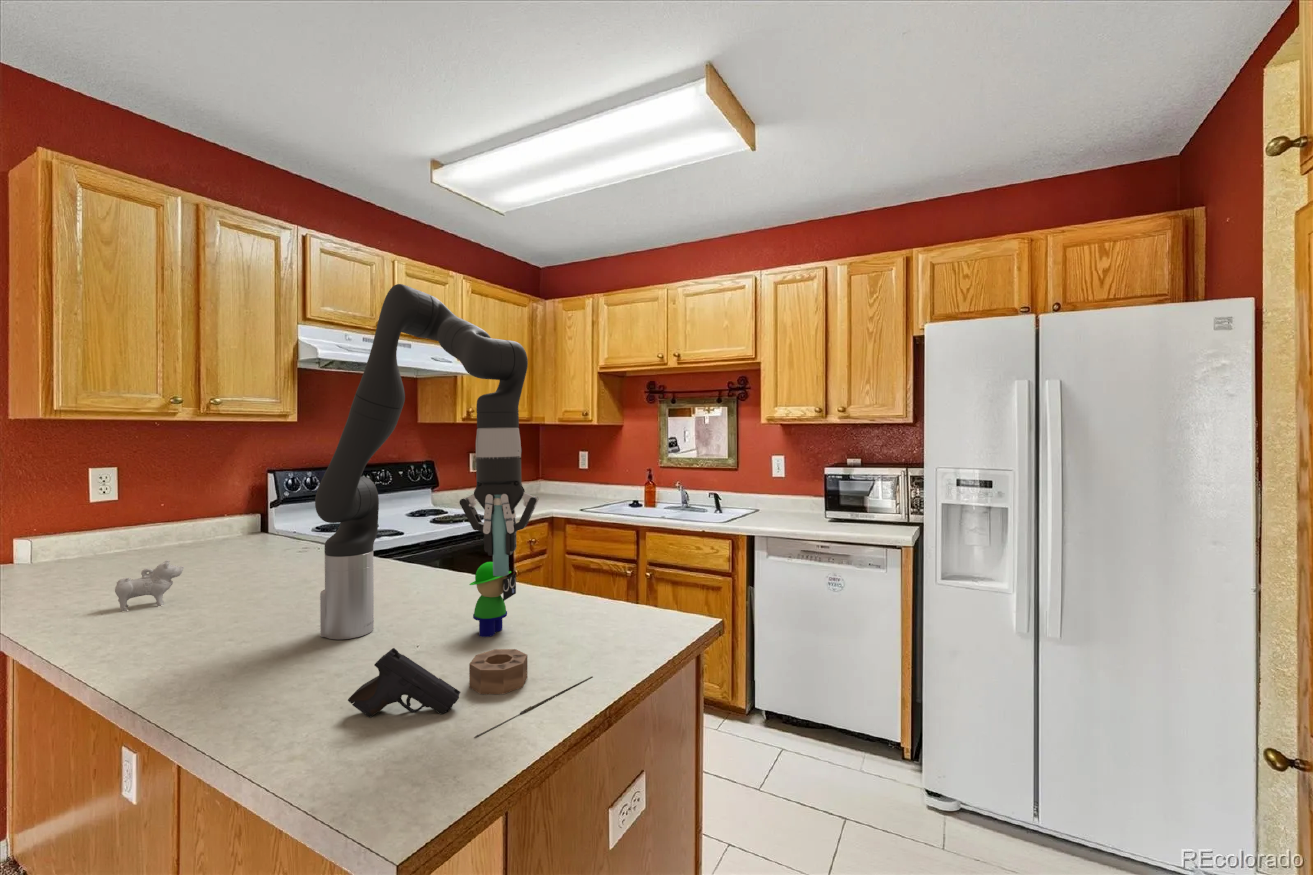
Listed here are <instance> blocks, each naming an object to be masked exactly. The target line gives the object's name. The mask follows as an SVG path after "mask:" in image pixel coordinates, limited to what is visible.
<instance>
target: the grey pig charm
mask: <svg viewBox="0 0 1313 875" xmlns="http://www.w3.org/2000/svg"><path fill="white" fill-rule="evenodd" d="M183 571H184V565H183V566H179V565H174V564H171V563H170V560H168V559H166V560H164V561H163V562H162V563H160V564H158V565H157V566H156V567H155V568H154V569H152V568H148V567H147V568H144V569H142V570H141V572H140V574H141V577H140V578H134V579H131V578H130V577H125V578H124V577H123V578H120V579H119V580H117V582H116V586H115V587H114V593H115V595H116V596H117V598H118V600H117V601H118V603H119V608H120V612H121V613H123V612H122V611H126V612H128V611H127V610H129V609H128V608H129V607H128V606H129V604H128V601H129V600H130V599H134V598H137V597H143V596H153V597H154V599H155V600H156V601H155V602H156V605H157V607H158V606H161V605H164V606H165V603H164V602H165V600H163V598H164V594H165V593H166V592H167V591H168V590H170V588H171V587H172V586H173V584H174V582H173V580H172V579H175V578H178V577H180V576H182V573H183ZM161 607H162V606H161Z"/></svg>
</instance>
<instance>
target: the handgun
mask: <svg viewBox="0 0 1313 875" xmlns="http://www.w3.org/2000/svg"><path fill="white" fill-rule="evenodd" d="M374 667H375V668H376V669H378V675H377V676H375V677H373V678H371V679H370V680H368V681H367V682H364V684H362V685H361V686H360V687H358V688H357V689H356V691H355V692H353V693H352V695H350V697H349V698H348V699H347V701H348V702H349V704H352V706H353V707H354V708H355V709H357V710H358V711H360V712H361V713H362V714H364V715H365V716H366V717H368V718H372V717H373V716H374V715H376V714H378V713H379V712H380V711H381V710H383V709H385V708H386V707H387V706H388V705H390V704H394V703H398V704H399V705H401V706H402V707H403V708H404V709H406V710H407V711H408V712H409V713H417V712H419V711H420V710H422V709H423V708H430V709H432V710H433V711H435V712H437V713H438V714H440V715H444V714H445V713H449V711H450V710H451V709H452V708H453V706H454V705H455V704H457V702H458V700H459V698H460V694H461V693H462V692H461V691H460V690H459V689H457V688H455V687H454V686H452V685H451V684H449V683H448V682H446V681H444V680H443V679H442V678H440V677H437V676H436V675H435V674H433V673H432V672H430V671H428V670H427V669H425V668H424V667H422V666H421V665H419V664H418V663H417V662H415V661H413V660H412V659H410V657H407V656H406V655H404V654H402V653H400V652H399V651H398V650H397V649H396V648H395V647H393V648H391V649H390V650H389V651H388V652H386V653H385V654H383V655H382V656H381V657H380V658H379V659H378V660H377V661H376V662H375V663H374ZM402 696H407V698H406V700H405V702H406V703H405V702H404V701H403V699H402V698H403V697H402ZM411 699H413V700H415V701H416V702H419V704H420V705H421V706H419V707H418V708H413V707H411V705H412V704H411Z"/></svg>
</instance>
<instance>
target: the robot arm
mask: <svg viewBox="0 0 1313 875" xmlns="http://www.w3.org/2000/svg"><path fill="white" fill-rule="evenodd" d="M376 324H377V325H376V329H375V334H374V337H373V341H372V345H371V350H370V352H369V355H368V357H367V363H366V365H365V368H364V370H363V373H362V376H361V379H360V381H359V384H358V386H357V388H356V392H355V394H354V397H353V400H352V403H351V406H350V409H349V412H348V417H347V419H346V422H345V425H344V427H343V430H342V432H341V435H340V438H339V440H338V443H337V446H336V449H335V451H334V453H333V455H332V458H331V460H330V462H329V464H328V467H327V468H326V470H325V472H324V475H323V476H322V479H321V481H320V482H319V486H318V488H317V491H316V493H315V499H314V505H315V506H314V508H315V512H316V514H317V515H318V517H319V518H320V520H322V521H323V522H326V523H328V524H337V523H338V524H339V526H338V528H337V530H336V532H334V533H333V535H331V536H329V538H327V540H326V541H325V542H324V589H323V590H321V591H320V595H319V596H320V597H319V600H320V601H319V602H320V603H319V604H320V607H319V608H320V614H319V615H320V616H319V617H320V620H319V622H320V626H319V627H320V628H319V629H320V631H319V632H320V638H327V639H329V640H348V639H355V638H359V637H362V636H365V635H368V634H370V633H372V631H374V629H375V628H374V626H375V625H374V624H375V621H374V620H375V617H374V613H375V609H374V607H375V606H374V604H375V600H374V599H375V597H374V596H375V595H374V589H375V588H374V580H375V579H374V545H375V544H374V543H375V540H376V538H377V536H378V528H379V510H380V503H379V502H380V501H379V499H380V498H379V492H378V489H377V486H376V485H375V483H374V482H373V480H371V479H370V478H369V477H365V476H363V472H364V470H365V468H366V466H367V464H368V463H369V461H371V458H372V457H373V456H374V454H376V452H378V450H379V449H380V448H381V447H382V446H383V444H385V443H386V441H387V440H388V439H389V437H390V436H391V435H392V434H393V432H394V430H395V429H396V427H397V424H398V423H399V422H398V421H399V418H400V417H401V413H402V410H403V407H404V405H405V400H406V392H405V387H404V383H403V381H402V380H403V379H402V377H401V372H400V369H399V365H398V358H397V353H398V345H399V339H400V336H401V334H402V333H403V334H407V335H410V336H413V337H416V338H420V339H427V340H432V341H434V342H435V341H437V342H438V344H439V345H440V347H441V349H443V350H444V351H445V352H446V353H448V354H449V355H450V356H452V357H454V358H455V359H456V360H458V361H460V363H461V365H462V366H463V368H464V370H465V371H466V373H468V375H471V376H472V377H475V378H477V379H482V380H493V381H499V382H498V386H497V388H496V391H494V392H490V393H485V394H481V395H480V396H478V398H477V401H476V428H477V429H476V436H475V467H476V468H475V471H476V472H475V474H476V487H475V489H474V491H473V493H472V494H470V495H469V496H467V497H464V498H463V497H462V498H461V499H460V500H459V505H460V507H461V509H462V510H463V512H464V514H465V516H466V518H467V521H468V522H469V524H470V526H471V528H472V530H474V531H477V532H481V533H482V534H483V550H484V552H485V553H487V556H493V540H492V514H494V502H493V501H494V498H495V496H494V495H501V502H502V511H503V514H504V519H505V521H506V527H507V534H506V555H508V556H512V555H513V554H514V552H515V551H516V549H517V532H518V531H520V530H521V531H522V530H524V529H525V528H526V527H527V526H528V524H529V521H530V520H531V517H532V515H533V513H534V511H535V509H536V507H537V505H538V502H539V497H538V496H537V495H531V494H529V493H527V492H525V487H524V486H523V483H522V446H521V445H522V444H521V443H522V442H521V434H520V428H519V427H520V426H519V425H520V423H519V422H520V421H519V419H520V418H519V416H520V414H519V403H520V400H521V396H522V391H523V387H524V384H525V379H526V375H527V373H528V372H527V371H528V368H529V366H528V365H529V364H528V363H529V362H528V361H529V360H528V355H527V352H526V349H525V347H524V346H523V345H522V344H521V343H519V342H517V341H514V340H510V339H509V340H507V339H499V338H492V337H491V335H490V334H489V333H488V332H487V331H485V330H484V329H483V328H481V327H479V326H477V325H476V324H473V323H472V322H469V321H468V320H466V319H464V318H461V317H458V316H457V315H455V313H454V312H452V311H451V310H450V309H449V308H448V306H446V305H445V304H444V303H443V302H442V300H439V298H437V297H436V296H433V295H431V294H429V293H426V292H425V291H421V290H419V289H416V288H413V287H411V286H408V285H405V284H402V283H396V284H394V285H393V286H392V287H390V288H389V290H388V292H387V294H386V295H385V298H384V300H383V303H382V306H381V310H380V312H379V317H378V321H377V323H376ZM521 500H523V502H522V503H523V504H522V505H523V506H524V507H525V508H524V510H523V513H522V515H521V516H520V519H519V521H518V522H517V518H516V517H517V516H516V507H517V506H518V505H519V503H520V502H521ZM476 501H477V502H478V503H479V505H480V506H481V507H482V508H483V510H484V512H483V521H482V519H481V517H480V515H479V513H478V511H477V510H476V508H475V507H476V506H477V502H476Z"/></svg>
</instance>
